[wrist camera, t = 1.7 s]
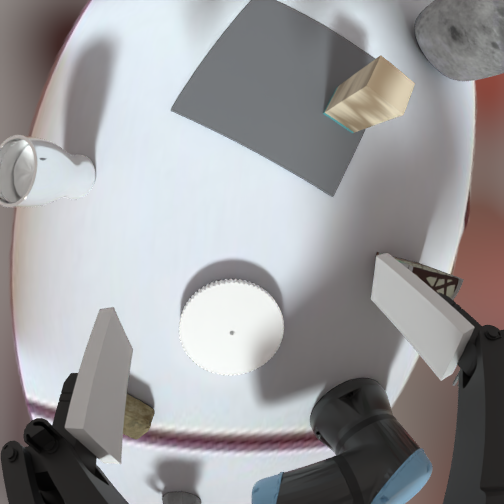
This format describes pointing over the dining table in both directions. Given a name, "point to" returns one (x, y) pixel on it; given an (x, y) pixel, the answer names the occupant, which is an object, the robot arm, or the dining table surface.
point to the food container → (433, 277)
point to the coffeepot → (180, 498)
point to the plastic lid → (231, 327)
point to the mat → (278, 91)
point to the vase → (463, 37)
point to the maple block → (370, 96)
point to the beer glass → (41, 173)
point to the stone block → (136, 417)
